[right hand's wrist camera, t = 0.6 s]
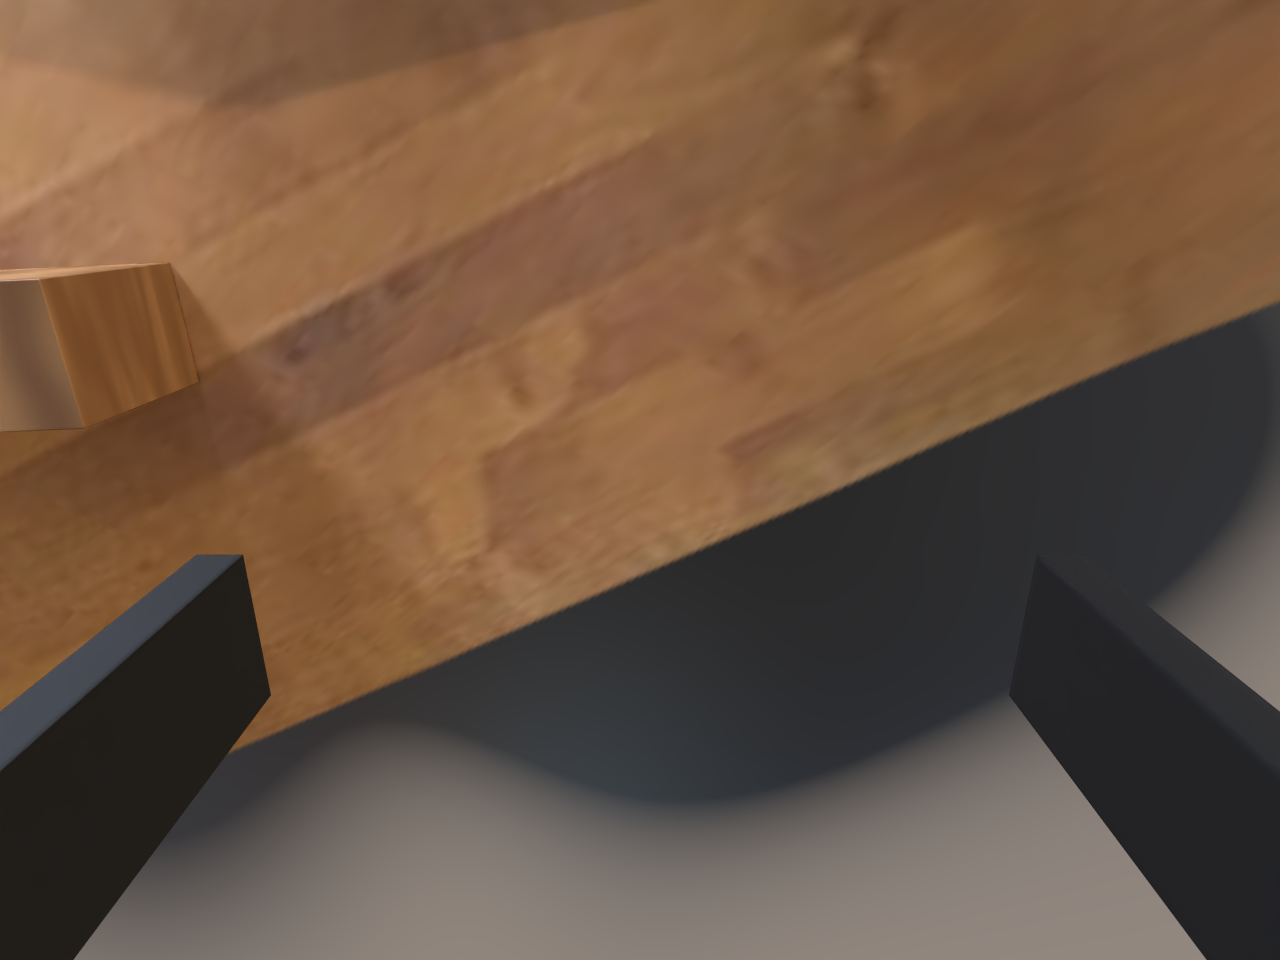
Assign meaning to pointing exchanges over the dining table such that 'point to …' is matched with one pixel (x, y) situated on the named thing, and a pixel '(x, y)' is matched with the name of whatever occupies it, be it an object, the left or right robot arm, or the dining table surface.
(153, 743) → the right robot arm
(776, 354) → the dining table surface
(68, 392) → the beam
